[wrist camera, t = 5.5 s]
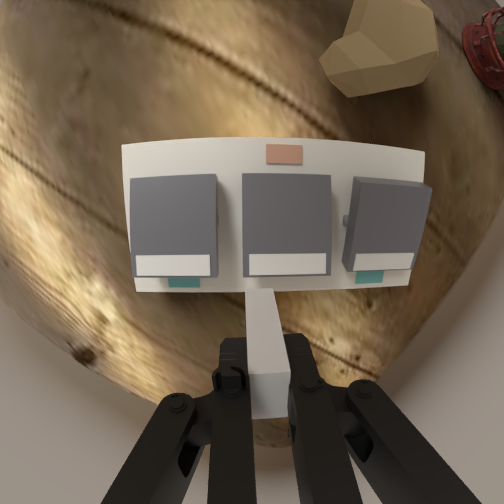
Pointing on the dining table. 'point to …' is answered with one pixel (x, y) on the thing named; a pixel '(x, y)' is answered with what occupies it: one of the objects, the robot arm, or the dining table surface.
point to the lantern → (486, 49)
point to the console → (270, 161)
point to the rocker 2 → (385, 224)
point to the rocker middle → (286, 225)
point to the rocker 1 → (174, 226)
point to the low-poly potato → (382, 48)
